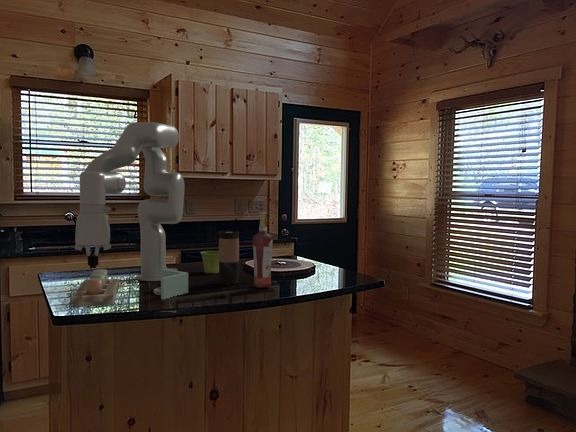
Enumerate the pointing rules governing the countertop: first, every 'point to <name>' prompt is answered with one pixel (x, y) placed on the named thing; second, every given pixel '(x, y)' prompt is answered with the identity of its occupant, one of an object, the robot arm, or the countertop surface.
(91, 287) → the brown egg
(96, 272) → the beige egg
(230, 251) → the travel mug
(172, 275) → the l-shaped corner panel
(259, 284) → the liquor
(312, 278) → the countertop surface
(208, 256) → the plant pot
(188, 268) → the countertop surface
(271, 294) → the countertop surface
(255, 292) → the countertop surface
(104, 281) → the pale green egg
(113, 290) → the wooden rectangular frame
